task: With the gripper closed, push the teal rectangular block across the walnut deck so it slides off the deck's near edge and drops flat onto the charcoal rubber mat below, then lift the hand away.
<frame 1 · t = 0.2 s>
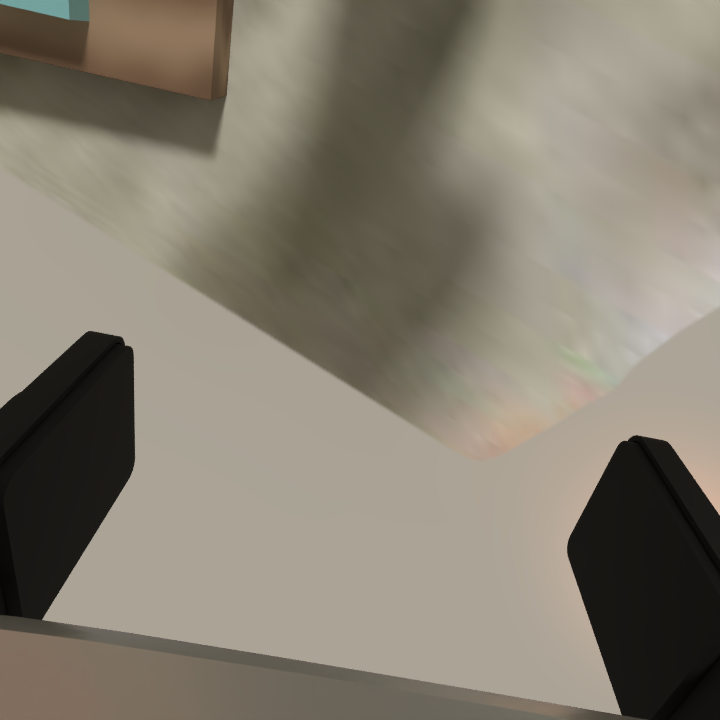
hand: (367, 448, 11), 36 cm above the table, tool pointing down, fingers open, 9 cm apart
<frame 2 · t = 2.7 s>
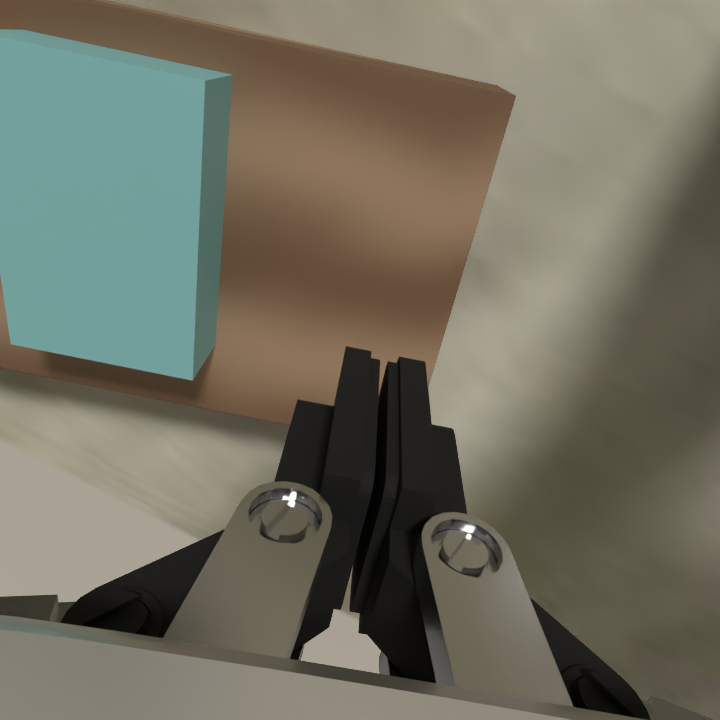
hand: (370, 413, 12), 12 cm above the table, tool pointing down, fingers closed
deck: (175, 205, 22), on the table
teal rectangular block: (132, 207, 18), point 4 cm above the table, touching deck
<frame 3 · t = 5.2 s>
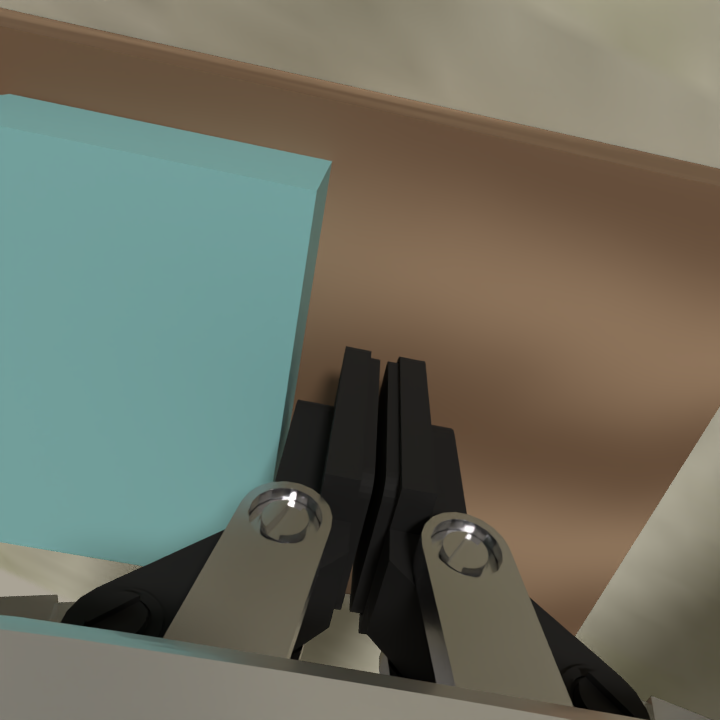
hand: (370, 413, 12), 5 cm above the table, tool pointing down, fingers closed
deck: (266, 314, 17), on the table
teal rectangular block: (168, 338, 13), point 4 cm above the table, touching deck
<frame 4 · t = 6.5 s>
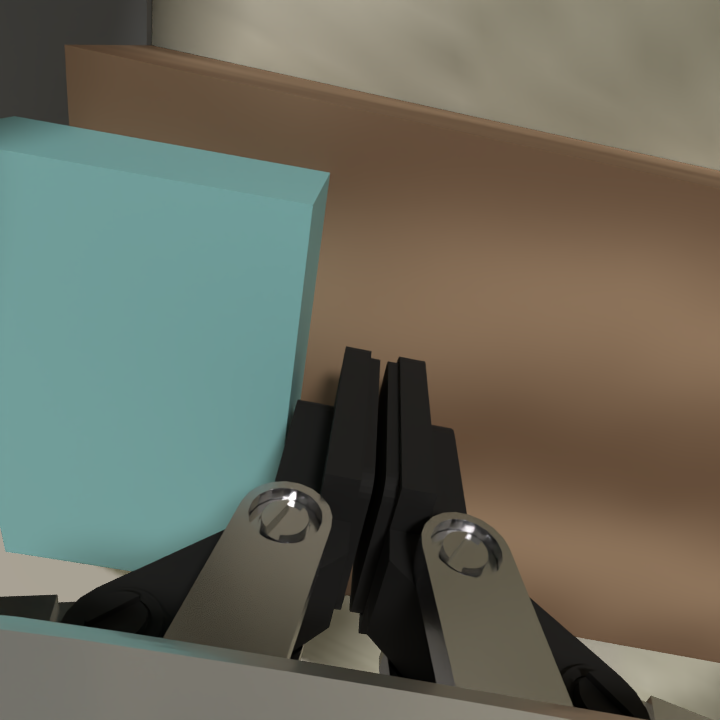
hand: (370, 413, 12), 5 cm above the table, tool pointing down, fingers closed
deck: (509, 365, 17), on the table
teal rectangular block: (174, 350, 13), point 4 cm above the table, touching gripper
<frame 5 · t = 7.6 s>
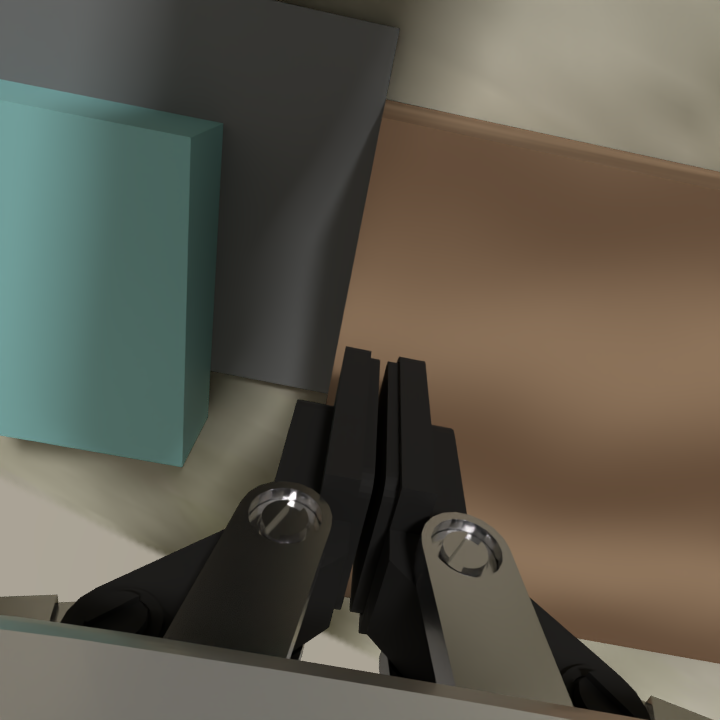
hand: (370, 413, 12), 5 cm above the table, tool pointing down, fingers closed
deck: (690, 402, 17), on the table
teal rectangular block: (64, 306, 14), point 3 cm above the table, tilted 180°, touching mat
mat: (140, 192, 15), on the table
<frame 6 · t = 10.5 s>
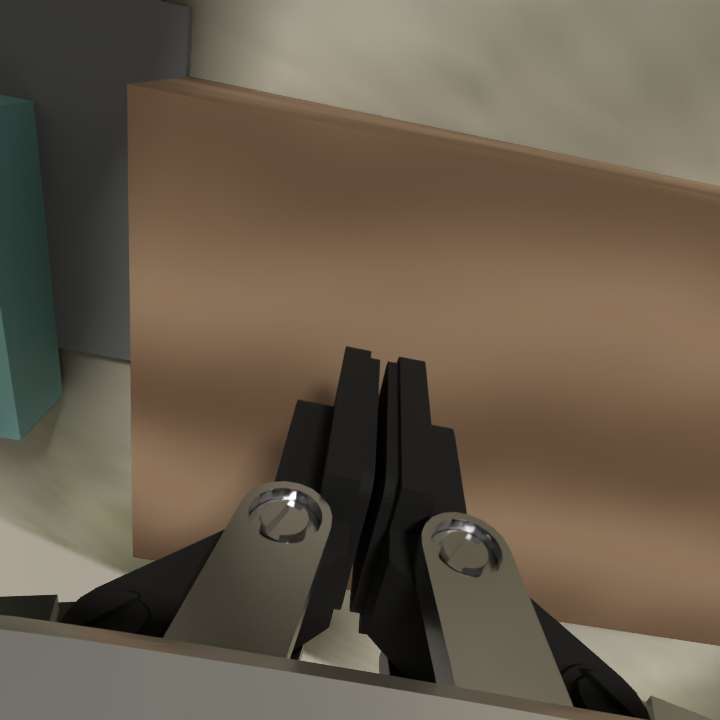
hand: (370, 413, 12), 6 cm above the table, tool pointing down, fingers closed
deck: (524, 370, 18), on the table
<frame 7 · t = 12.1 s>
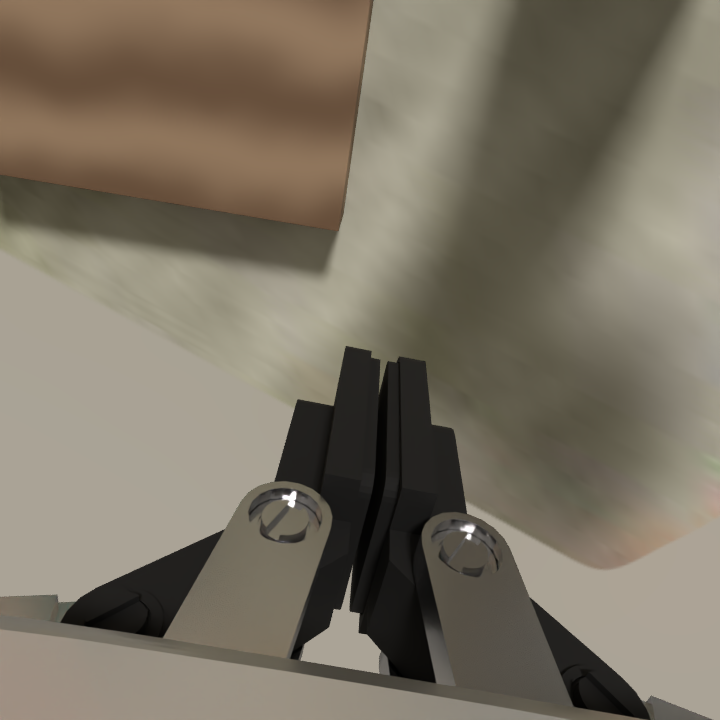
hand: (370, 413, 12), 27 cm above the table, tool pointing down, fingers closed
deck: (175, 74, 33), on the table
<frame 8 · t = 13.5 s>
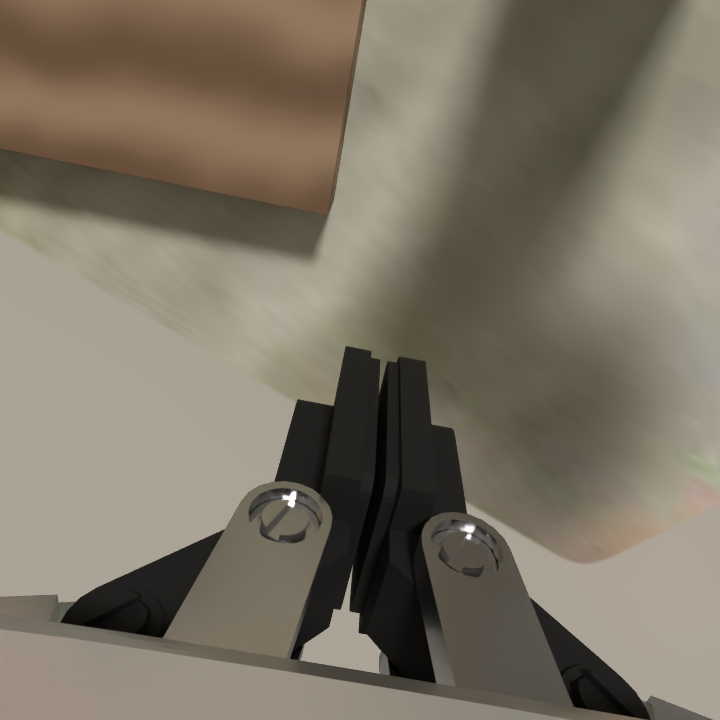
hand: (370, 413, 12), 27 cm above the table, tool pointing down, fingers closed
deck: (167, 51, 33), on the table
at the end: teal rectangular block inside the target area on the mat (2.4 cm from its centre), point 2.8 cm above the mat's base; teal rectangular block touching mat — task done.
